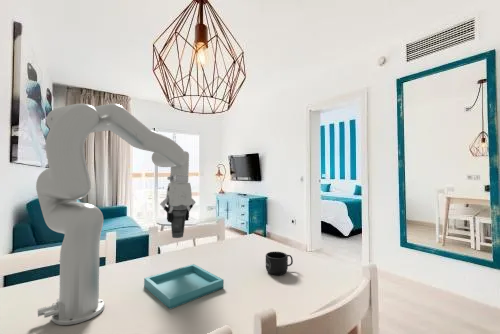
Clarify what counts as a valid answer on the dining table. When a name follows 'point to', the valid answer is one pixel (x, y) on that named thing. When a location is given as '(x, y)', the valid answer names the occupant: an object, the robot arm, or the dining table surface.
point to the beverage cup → (178, 221)
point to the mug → (277, 262)
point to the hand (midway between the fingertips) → (178, 220)
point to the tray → (182, 285)
